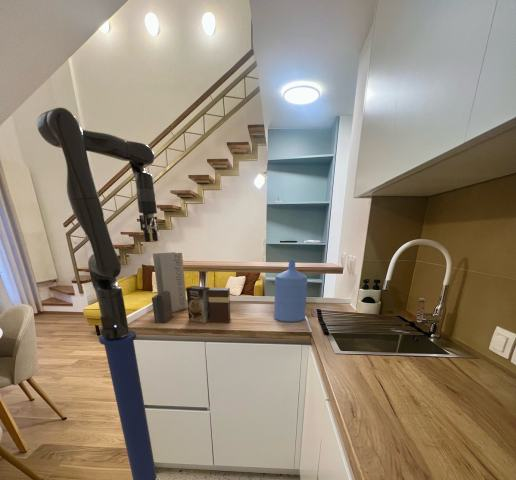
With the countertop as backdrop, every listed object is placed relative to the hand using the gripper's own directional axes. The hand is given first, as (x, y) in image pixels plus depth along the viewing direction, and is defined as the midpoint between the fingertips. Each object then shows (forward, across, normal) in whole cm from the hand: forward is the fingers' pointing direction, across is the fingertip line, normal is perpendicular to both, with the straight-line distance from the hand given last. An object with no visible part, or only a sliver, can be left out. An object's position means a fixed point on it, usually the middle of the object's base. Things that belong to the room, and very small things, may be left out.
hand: (151, 241), depth 126 cm
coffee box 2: (+36, +2, +30) cm, 47 cm away
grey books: (+36, +2, +2) cm, 36 cm away
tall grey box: (+36, -16, +1) cm, 40 cm away
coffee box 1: (+36, +2, +20) cm, 41 cm away
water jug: (+36, -5, +64) cm, 74 cm away
